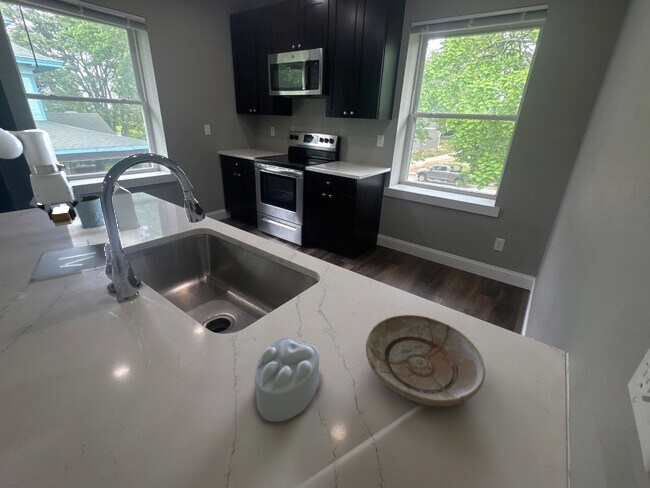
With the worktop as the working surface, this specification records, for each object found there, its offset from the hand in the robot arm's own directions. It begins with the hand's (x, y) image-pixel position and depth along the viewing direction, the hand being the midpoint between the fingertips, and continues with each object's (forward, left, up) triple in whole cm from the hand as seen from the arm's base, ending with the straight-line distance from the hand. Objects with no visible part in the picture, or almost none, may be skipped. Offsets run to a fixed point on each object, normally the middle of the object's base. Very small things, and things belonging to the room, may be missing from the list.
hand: (64, 219), depth 107 cm
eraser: (0, 0, -1) cm, 1 cm away
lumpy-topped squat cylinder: (+42, -98, -10) cm, 107 cm away
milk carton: (+18, +10, -10) cm, 23 cm away
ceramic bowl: (+69, -107, -10) cm, 128 cm away
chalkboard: (+3, -17, -10) cm, 20 cm away
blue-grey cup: (+6, +19, -10) cm, 22 cm away
